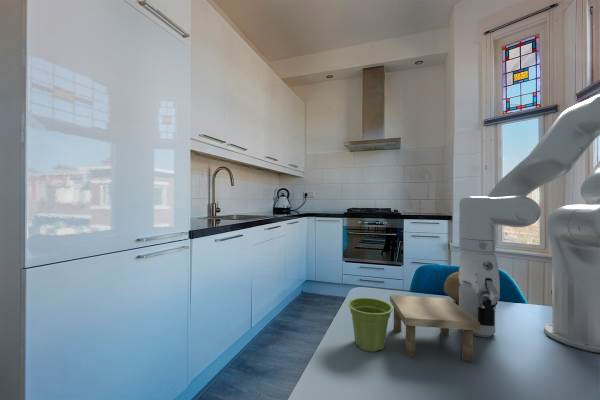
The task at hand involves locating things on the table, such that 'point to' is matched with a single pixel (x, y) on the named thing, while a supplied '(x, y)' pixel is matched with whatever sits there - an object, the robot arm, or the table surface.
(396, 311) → the stool
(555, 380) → the table surface
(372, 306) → the plant pot
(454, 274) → the natural sponge
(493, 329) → the can
